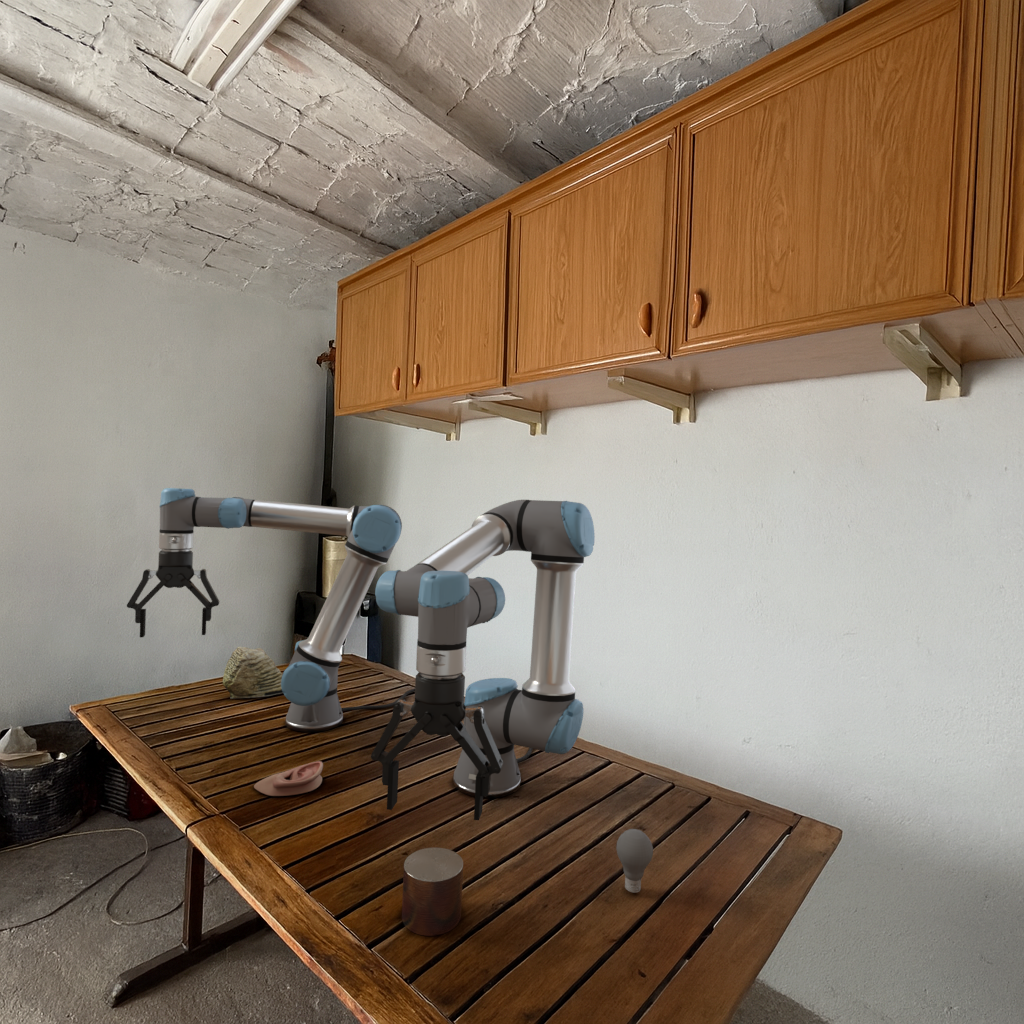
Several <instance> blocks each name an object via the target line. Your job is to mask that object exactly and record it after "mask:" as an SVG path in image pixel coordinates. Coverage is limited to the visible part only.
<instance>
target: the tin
mask: <svg viewBox="0 0 1024 1024" xmlns="http://www.w3.org/2000/svg"><path fill="white" fill-rule="evenodd" d="M402 877H403V878H402V879H403V881H402V900H401V901H402V903H401V907H402V908H401V922H402V924H403V926H404V927H405V928H406V929H407V930H408V931H409V932H411V933H413V934H416V935H418V936H419V935H420V936H425V937H433V936H441V935H444V934H447V933H449V932H451V931H452V930H454V929H455V928H456V927H457V926H458V925H459V923H460V922H461V919H462V905H463V879H464V861H463V857H461V855H460V854H459V853H457V852H456V851H454V850H451V849H448V848H445V847H425V848H421V849H418V850H416V851H414V852H412V853H411V854H409V855H408V856H407V857H406V859H405V860H404V862H403V876H402Z"/></svg>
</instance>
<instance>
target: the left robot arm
mask: <svg viewBox="0 0 1024 1024" xmlns="http://www.w3.org/2000/svg"><path fill="white" fill-rule="evenodd" d="M243 527H245V528H246V527H247V528H260V529H270V530H271V529H272V530H281V531H291V532H292V531H293V532H302V533H303V532H304V533H311V534H313V533H314V534H325V535H336V536H346V537H347V540H346V542H345V544H344V549H345V551H346V556H345V558H344V560H343V562H342V564H341V566H340V569H339V571H338V573H337V576H336V577H335V579H334V581H333V584H332V586H331V588H330V591H329V593H328V595H327V597H326V599H325V601H324V603H323V605H322V607H321V609H320V612H319V614H318V616H317V618H316V620H315V623H314V625H313V627H312V629H311V631H310V633H309V636H308V637H307V639H303V640H299V641H297V642H296V643H295V648H294V653H293V655H292V658H291V659H290V662H289V664H288V666H287V667H286V669H284V671H283V672H282V679H281V688H282V691H283V693H282V694H283V696H284V697H285V698H286V700H288V701H289V702H290V704H289V708H288V711H287V713H286V715H285V726H286V728H287V729H289V730H291V731H294V732H295V731H296V732H301V733H316V732H325V731H329V730H332V729H335V728H337V727H339V726H340V725H342V723H343V722H344V714H343V712H348V711H349V712H350V711H360V710H379V709H388V708H392V707H394V704H395V703H396V702H397V701H399V700H400V699H401V698H403V699H405V698H406V697H407V696H408V695H410V694H412V693H415V688H412V689H409V690H406V691H405V692H404V693H403V694H402V696H400V697H399V698H398V699H396V700H395V701H393V702H390V703H387V704H379V705H378V704H377V705H358V706H346V707H342V706H341V702H340V699H339V695H338V682H339V681H338V680H339V678H338V677H339V668H340V665H341V662H342V661H343V657H342V654H341V652H340V651H341V648H342V646H343V644H344V642H345V640H346V638H347V636H348V634H349V632H350V629H351V627H352V625H353V623H354V621H355V619H356V616H357V615H358V612H359V610H360V608H361V606H362V603H363V602H364V599H365V597H366V595H367V593H368V591H369V588H370V586H371V584H372V582H373V579H374V578H375V576H376V573H377V571H378V568H380V567H381V566H385V565H386V564H388V561H389V559H390V557H391V555H392V553H393V550H394V548H395V546H396V544H397V543H398V541H399V540H400V537H401V534H402V529H403V522H402V519H401V517H400V515H399V513H398V512H397V511H396V510H395V509H394V508H393V507H391V506H388V505H385V504H372V505H352V506H351V507H350V508H349V507H347V508H346V507H336V506H325V505H316V504H306V503H295V502H286V501H285V502H283V501H275V500H274V501H273V500H265V499H264V500H263V499H252V498H244V497H239V496H233V497H209V496H208V497H206V496H205V497H201V496H196V494H195V490H194V489H193V488H178V487H177V488H176V487H165V488H163V489H161V492H160V502H159V534H158V535H159V536H158V538H159V539H158V548H159V550H160V551H159V552H158V563H157V564H158V565H157V570H152V569H150V568H147V569H145V570H143V573H142V579H141V580H140V582H139V584H138V585H137V587H136V589H135V591H134V592H133V594H132V595H131V597H130V599H129V600H128V602H127V604H126V607H127V608H128V609H131V610H134V611H135V612H134V613H135V615H134V621H135V624H139V638H145V636H146V621H147V620H146V619H147V609H146V608H143V607H144V606H145V605H146V604H147V603H148V602H150V600H151V599H152V598H153V597H154V596H155V595H156V594H157V593H159V591H160V590H161V589H162V588H163V587H165V588H167V589H172V588H176V589H182V588H183V587H186V588H187V590H189V591H190V592H191V593H192V594H193V596H195V598H196V599H197V600H198V601H199V602H200V603H201V604H202V605H203V606H204V607H202V611H201V636H206V633H207V622H211V619H212V610H213V608H215V607H218V606H219V604H220V599H219V597H218V596H217V594H216V592H215V590H214V588H213V587H212V584H211V582H210V581H209V579H208V575H207V569H206V568H202V569H196V570H195V569H194V567H193V562H194V561H193V560H194V552H193V551H192V549H193V548H194V532H195V531H194V528H218V529H219V528H220V529H227V530H228V529H239V528H243ZM154 576H156V578H157V579H158V580H159V581H160V582H158V583H157V584H156V585H155V586H154V588H152V590H151V591H149V593H147V595H146V596H144V598H143V599H142V600H141V601H140V602H139V603H137V601H138V599H139V597H140V596H141V595H142V593H143V591H144V589H145V587H146V586H147V584H148V582H149V580H151V579H153V578H154ZM194 576H196V577H197V579H200V582H201V583H202V585H203V587H204V589H205V591H206V593H207V594H208V596H209V598H210V600H211V601H210V600H209V599H208V598H207V597H206V596H205V595H204V594H203V593H202V592H201V591H200V589H198V587H197V586H196V585H195V584H194V583H193V582H192V580H191V579H192V578H193V577H194Z"/></svg>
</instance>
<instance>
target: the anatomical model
mask: <svg viewBox="0 0 1024 1024" xmlns="http://www.w3.org/2000/svg"><path fill="white" fill-rule="evenodd" d="M323 768H324V763H323V761H321V760H318V761H312V762H309V763H306V764H303V765H299V766H297V767H294V768H291V769H288V770H286V771H283V772H278V773H275V774H272V775H269V776H267V777H265V778H263V779H260V780H259V781H257V782H256V783H255V784H254V785H253V788H254V789H255V790H256V791H257V792H259V793H261V794H264V795H266V796H268V797H269V796H270V797H284V796H295V795H301V794H305V793H308V792H312V791H315V790H316V789H317V788H319V787H320V786H321V784H322V783H323V777H322V775H321V774H322V771H323Z"/></svg>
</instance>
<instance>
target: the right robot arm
mask: <svg viewBox="0 0 1024 1024" xmlns="http://www.w3.org/2000/svg"><path fill="white" fill-rule="evenodd" d="M594 545H595V526H594V521H593V518H592V514H591V512H590V510H589V508H588V507H587V506H586V505H585V504H583V503H581V502H576V501H569V500H541V499H540V500H539V499H538V500H537V499H536V500H535V499H516V500H512V501H509V502H505V503H503V504H501V505H498V506H495V507H493V508H491V509H488V510H486V511H485V512H484V513H482V514H480V515H479V516H478V517H476V518H475V519H474V521H473V522H472V524H471V527H469V528H468V529H467V530H465V531H463V532H462V533H461V534H459V535H458V536H456V537H455V538H453V539H452V540H450V541H449V542H447V543H445V544H444V545H442V547H440V548H438V549H437V550H435V551H434V552H432V553H431V554H429V555H428V556H426V557H425V558H424V559H422V560H421V561H419V562H418V563H416V564H415V565H414V566H412V567H410V568H408V569H407V570H401V569H396V570H386V571H384V572H383V573H382V574H381V575H380V577H379V578H378V580H377V582H376V585H375V589H374V590H375V591H374V593H375V602H376V605H377V606H378V608H379V609H380V610H382V611H383V612H386V613H389V614H396V615H397V616H407V617H416V618H417V641H416V660H415V661H416V663H415V670H416V671H417V672H418V673H417V674H416V675H415V679H414V680H415V681H414V684H415V685H414V689H415V692H414V701H413V702H409V701H406V699H405V698H404V699H403V698H401V699H400V700H399V701H397V702H396V703H395V704H394V706H392V707H393V708H392V713H391V714H392V715H391V718H390V720H389V722H388V723H387V724H386V727H385V728H384V730H383V732H382V734H381V736H380V738H379V739H378V742H377V743H376V745H375V747H374V749H373V751H372V752H371V754H370V758H371V760H372V761H375V762H376V761H378V762H380V763H381V766H382V770H381V772H382V773H381V783H382V786H386V787H387V791H386V792H387V793H386V794H387V795H386V810H389V811H393V809H394V807H395V806H396V804H397V803H398V794H399V793H398V791H399V769H400V768H399V767H400V761H399V760H395V759H396V757H398V755H399V754H400V753H402V751H403V750H404V749H405V748H406V747H407V746H408V745H409V744H410V742H412V741H413V739H414V738H416V737H417V735H419V734H420V732H421V731H422V732H423V733H425V734H426V735H427V736H434V735H437V736H440V737H447V736H449V735H450V736H451V737H452V739H453V740H454V741H455V742H457V744H458V745H459V746H460V748H461V752H460V754H459V758H458V761H457V764H456V767H455V768H454V771H453V780H452V783H453V786H454V787H455V789H457V790H458V792H461V793H463V794H464V795H468V796H471V797H474V808H473V809H474V810H473V812H474V813H473V820H474V821H480V819H481V816H482V814H483V807H484V806H483V805H484V798H485V799H489V798H490V799H493V798H494V799H495V798H502V797H506V796H509V795H511V794H514V793H515V792H517V791H518V790H519V788H520V787H521V781H522V780H521V779H522V777H521V771H520V767H519V763H522V762H523V761H526V760H527V759H528V758H529V757H530V756H531V754H532V752H533V750H537V751H541V752H545V753H546V754H549V753H551V754H558V755H565V754H567V753H569V752H570V751H571V749H572V748H573V747H574V746H575V744H576V741H577V739H578V736H579V735H580V731H581V728H582V724H583V719H584V703H583V702H582V701H581V700H579V699H578V698H576V688H575V687H574V685H573V684H572V683H571V681H570V671H571V657H572V656H571V655H572V640H573V626H574V625H573V624H574V610H575V608H574V607H575V592H576V581H577V580H576V579H577V572H578V570H579V569H580V568H582V567H583V566H584V563H585V562H584V561H585V558H586V557H589V556H591V555H592V553H593V552H594ZM508 551H509V552H513V551H519V552H527V553H530V562H531V563H532V564H533V566H535V568H536V577H535V578H536V580H535V594H534V609H533V622H532V623H533V625H532V639H531V654H530V655H531V656H530V667H529V668H530V670H529V678H528V679H527V680H526V681H525V682H524V683H523V684H522V686H521V689H518V686H519V685H518V682H517V681H516V680H515V679H513V678H507V677H492V678H485V679H480V680H477V681H473V682H472V683H470V684H469V685H467V687H466V689H465V685H466V676H465V675H464V672H465V671H466V664H467V638H468V637H467V636H468V635H467V633H468V628H470V627H474V626H477V625H480V624H486V623H489V622H491V621H492V620H493V619H496V618H497V617H499V615H500V614H501V613H502V612H503V610H504V608H505V605H506V594H505V590H504V588H503V586H502V585H501V583H499V582H498V581H497V580H496V579H495V578H492V577H487V576H484V577H482V576H476V577H473V578H470V577H469V575H470V574H472V573H473V572H474V571H476V570H477V569H478V568H479V567H481V566H482V565H483V564H484V563H485V562H487V561H488V560H489V559H491V558H492V557H498V556H501V555H502V554H504V553H505V552H508ZM410 712H411V715H412V716H413V718H414V720H415V721H416V723H415V724H414V725H413V726H412V727H411V728H410V729H409V730H408V732H406V733H405V734H404V736H403V737H401V739H400V740H399V741H398V742H397V743H396V744H395V745H394V746H393V747H392V749H390V750H389V752H388V751H386V748H387V747H388V745H389V743H390V741H391V740H392V738H393V736H394V734H395V733H396V731H397V728H398V727H399V725H400V723H401V722H402V720H403V718H404V717H406V716H407V715H408V714H409V713H410ZM515 746H519V747H524V748H528V750H527V752H526V753H525V754H524V755H522V756H520V757H517V756H516V752H515Z"/></svg>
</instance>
